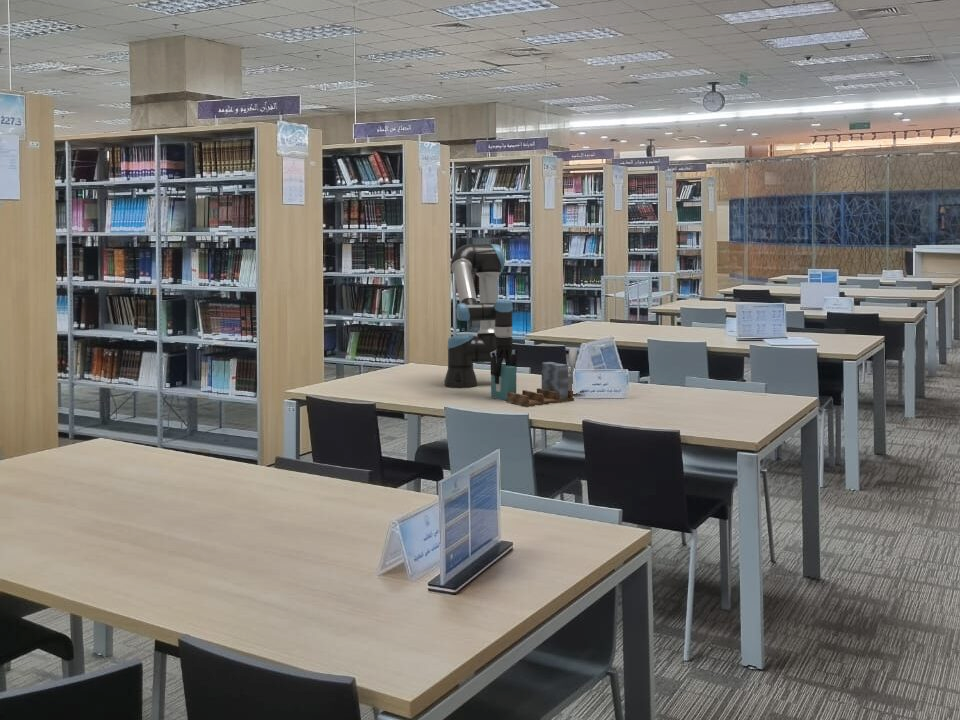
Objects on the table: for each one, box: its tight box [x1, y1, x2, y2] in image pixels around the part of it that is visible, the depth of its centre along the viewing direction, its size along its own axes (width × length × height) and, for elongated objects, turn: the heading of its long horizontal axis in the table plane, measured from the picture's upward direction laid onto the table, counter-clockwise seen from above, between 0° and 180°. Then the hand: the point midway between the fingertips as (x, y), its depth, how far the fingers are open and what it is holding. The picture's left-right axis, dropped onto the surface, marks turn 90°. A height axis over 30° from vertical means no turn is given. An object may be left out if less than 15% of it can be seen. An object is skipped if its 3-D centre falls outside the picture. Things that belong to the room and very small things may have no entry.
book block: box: [490, 363, 517, 401], centre depth 417 cm, size 12×4×14 cm, turn 35°
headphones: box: [568, 347, 579, 390], centre depth 428 cm, size 19×9×20 cm, turn 171°
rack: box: [505, 361, 575, 408], centre depth 409 cm, size 14×25×15 cm, turn 125°
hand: (503, 390), depth 417 cm, fingers closed on book block, 4 cm apart
